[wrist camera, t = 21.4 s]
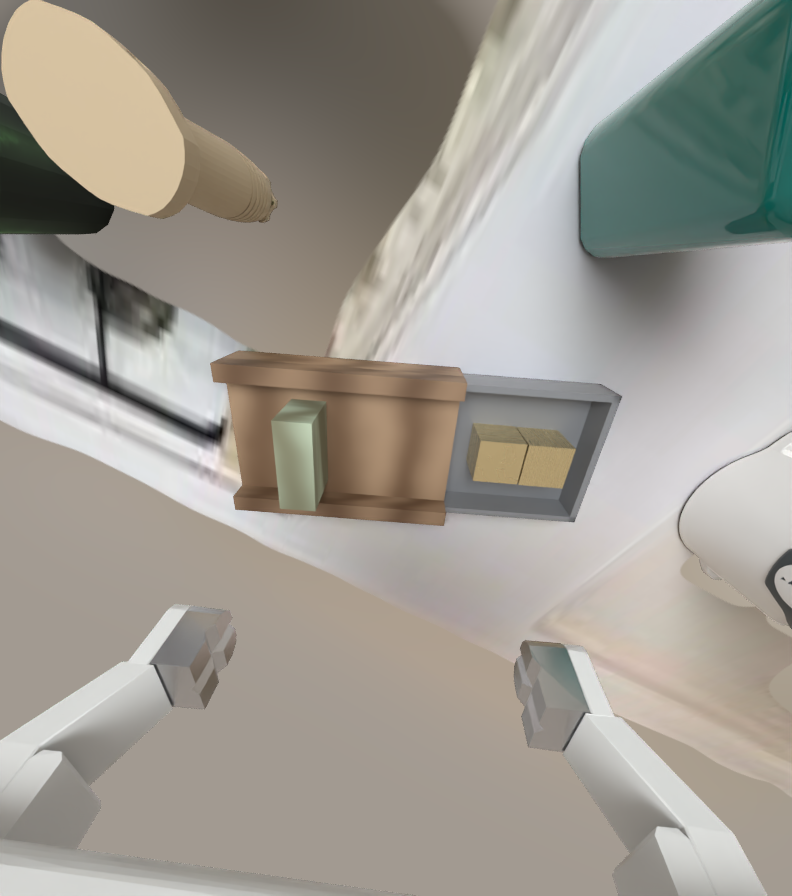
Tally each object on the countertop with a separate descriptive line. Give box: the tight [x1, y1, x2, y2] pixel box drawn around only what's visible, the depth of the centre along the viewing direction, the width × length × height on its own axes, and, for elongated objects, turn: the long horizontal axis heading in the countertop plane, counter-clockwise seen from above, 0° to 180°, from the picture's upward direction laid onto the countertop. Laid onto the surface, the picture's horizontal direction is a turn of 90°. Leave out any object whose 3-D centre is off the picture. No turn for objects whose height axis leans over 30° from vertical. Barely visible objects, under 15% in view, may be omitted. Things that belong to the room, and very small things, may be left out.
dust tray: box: [444, 373, 622, 522], centre depth 33 cm, size 13×13×4 cm
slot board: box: [210, 351, 467, 526], centre depth 32 cm, size 20×14×5 cm
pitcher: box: [580, 0, 792, 258], centre depth 15 cm, size 10×8×22 cm
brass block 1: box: [466, 423, 528, 484], centre depth 32 cm, size 4×4×4 cm
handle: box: [2, 0, 278, 223], centre depth 19 cm, size 5×6×15 cm
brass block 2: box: [516, 427, 576, 489], centre depth 32 cm, size 4×4×4 cm
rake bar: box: [271, 399, 328, 511], centre depth 30 cm, size 3×8×5 cm, turn 176°
